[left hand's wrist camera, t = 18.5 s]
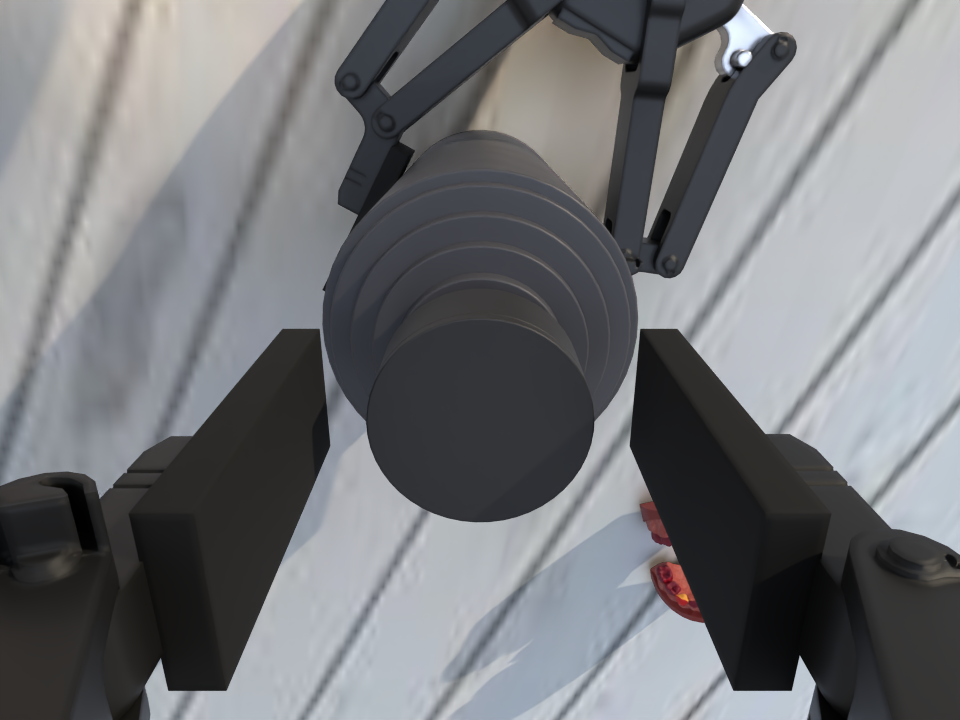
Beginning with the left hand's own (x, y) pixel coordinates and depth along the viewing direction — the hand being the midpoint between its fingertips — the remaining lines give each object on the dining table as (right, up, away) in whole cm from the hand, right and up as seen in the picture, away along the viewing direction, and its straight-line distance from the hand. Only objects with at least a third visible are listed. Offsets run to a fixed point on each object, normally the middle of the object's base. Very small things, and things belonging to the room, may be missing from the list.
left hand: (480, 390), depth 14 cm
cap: (0, -1, -1) cm, 1 cm away
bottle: (0, +8, +20) cm, 22 cm away
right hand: (-2, +2, +16) cm, 16 cm away
